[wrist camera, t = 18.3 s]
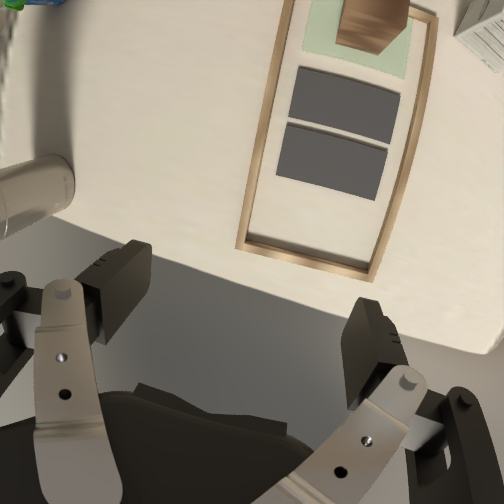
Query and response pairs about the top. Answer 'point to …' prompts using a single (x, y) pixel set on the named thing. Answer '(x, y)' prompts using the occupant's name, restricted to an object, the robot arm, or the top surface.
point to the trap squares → (333, 148)
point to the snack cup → (28, 3)
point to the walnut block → (371, 23)
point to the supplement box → (484, 32)
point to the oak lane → (401, 177)
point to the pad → (323, 43)
